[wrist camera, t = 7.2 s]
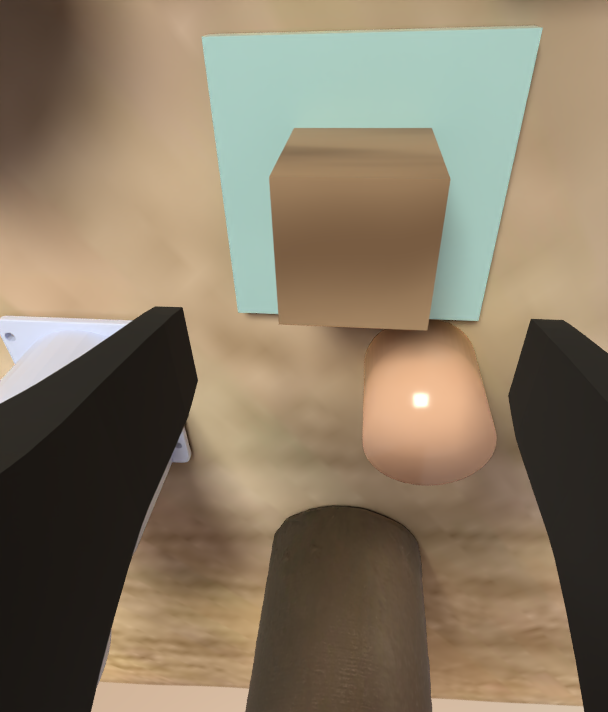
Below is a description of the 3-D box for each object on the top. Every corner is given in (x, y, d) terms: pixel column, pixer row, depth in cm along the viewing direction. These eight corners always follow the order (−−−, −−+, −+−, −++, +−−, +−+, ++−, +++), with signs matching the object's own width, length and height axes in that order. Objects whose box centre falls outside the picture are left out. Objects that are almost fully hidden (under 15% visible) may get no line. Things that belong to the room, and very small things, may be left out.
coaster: (475, 310, 21) (478, 320, 20) (241, 302, 22) (238, 312, 21) (535, 25, 15) (542, 27, 14) (208, 34, 16) (201, 36, 15)
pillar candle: (263, 501, 31) (195, 831, 19) (425, 507, 29) (457, 869, 18) (284, 581, 37) (241, 870, 25) (419, 589, 35) (440, 900, 24)
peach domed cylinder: (465, 405, 24) (483, 489, 20) (362, 400, 25) (360, 480, 21) (484, 319, 21) (510, 399, 17) (366, 315, 22) (365, 391, 18)
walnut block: (416, 255, 19) (427, 330, 15) (298, 252, 19) (279, 324, 15) (431, 128, 16) (450, 179, 12) (294, 127, 17) (268, 177, 13)
